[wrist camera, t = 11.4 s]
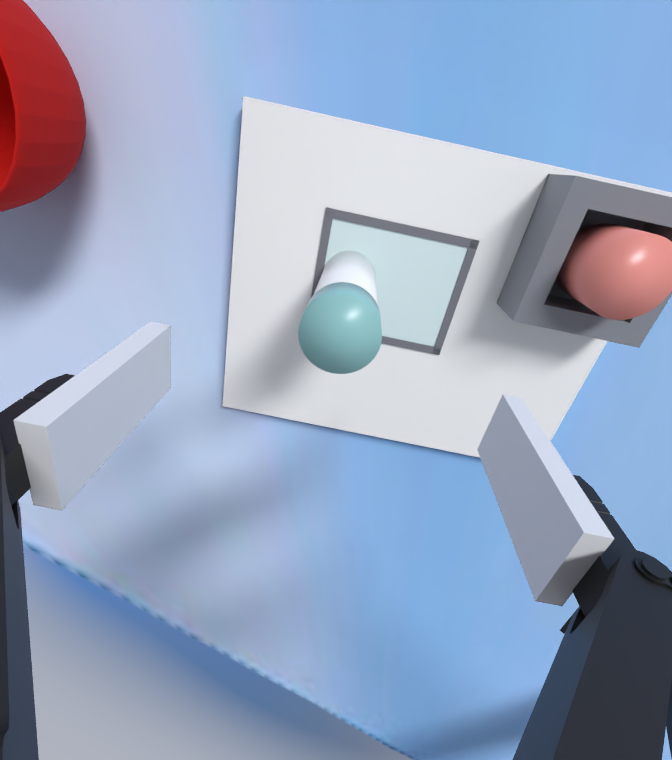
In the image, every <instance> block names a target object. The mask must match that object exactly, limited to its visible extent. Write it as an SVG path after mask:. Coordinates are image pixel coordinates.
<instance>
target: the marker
mask: <svg viewBox="0 0 672 760" xmlns="http://www.w3.org/2000/svg"><path fill="white" fill-rule="evenodd" d="M298 339H299V344H300V347H301V349H302V351H303V353H304V355H305V356H306V358H307V359H308V360H309V361H310V362H311V363H312V364H313V365H315V366H316V367H318V368H320V369H321V370H324V371H326V372H330V373H335V374H348V373H352V372H356V371H358V370H360V369H362V368H364V367H365V366H367V365H368V364H369V363H370V362H371V361H372V360H373V359H374V358H375V356H376V355H377V353H378V351H379V349H380V346H381V341H382V329H381V318H380V311H379V307H378V303H377V290H376V277H375V270H374V267H373V265H372V263H371V261H370V260H369V259H368V258H367V257H366V256H365V255H363V254H362V253H360V252H357V251H352V250H346V251H342V252H339V253H337V254H335V255H334V256H332V257H331V258H330V259H329V261H328V262H327V264H326V265H325V268H324V270H323V273H322V275H321V278H320V280H319V282H318V285H317V287H316V290H315V292H314V295H313V296H312V297H311V299H310V301H309V302H308V305H307V307H306V309H305V312H304V314H303V316H302V319H301V321H300V324H299V330H298Z"/></svg>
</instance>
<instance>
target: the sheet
mask: <svg viewBox="0 0 672 760" xmlns="http://www.w3.org/2000/svg"><path fill="white" fill-rule="evenodd" d="M548 174H557V175H574V176H580V177H584V178H589V179H593V180H598V181H602V182H607V183H611V184H615V185H620V186H624V187H629V188H633V189H638V190H642V191H647V192H651V193H655V194H660V195H664V196H669V197H672V193H671V192H667V191H662V190H658V189H654V188H649V187H645V186H640V185H636V184H631V183H627V182H622V181H618V180H614V179H609V178H605V177H600V176H596V175H591V174H587V173H583V172H578V171H574V170H569V169H565V168H560V167H556V166H551V165H547V164H543V163H538V162H534V161H529V160H525V159H520V158H516V157H512V156H507V155H503V154H498V153H494V152H489V151H485V150H480V149H476V148H472V147H467V146H463V145H458V144H454V143H449V142H445V141H441V140H436V139H432V138H427V137H423V136H418V135H414V134H409V133H405V132H401V131H396V130H392V129H387V128H383V127H378V126H374V125H370V124H365V123H361V122H356V121H352V120H347V119H343V118H338V117H334V116H330V115H325V114H321V113H316V112H312V111H307V110H303V109H299V108H294V107H290V106H285V105H281V104H276V103H272V102H267V101H263V100H259V99H254V98H250V97H245V96H243V108H242V123H241V138H240V153H239V168H238V183H237V198H236V213H235V227H234V242H233V257H232V272H231V287H230V302H229V317H228V332H227V347H226V362H225V377H224V392H223V406H225V407H230V408H235V409H240V410H245V411H250V412H255V413H260V414H265V415H270V416H275V417H280V418H285V419H290V420H295V421H300V422H305V423H310V424H315V425H320V426H325V427H330V428H335V429H340V430H345V431H350V432H355V433H360V434H365V435H370V436H375V437H380V438H385V439H390V440H395V441H400V442H405V443H410V444H415V445H420V446H425V447H430V448H435V449H440V450H445V451H450V452H455V453H460V454H465V455H470V456H475V457H480V456H479V453H478V450H477V449H478V447H479V444H480V442H481V440H482V438H483V436H484V434H485V431H486V429H487V427H488V425H489V423H490V421H491V418H492V416H493V414H494V412H495V410H496V408H497V405H498V403H499V401H500V399H501V397H502V395H503V394H505V395H510V396H514V397H519V398H522V399H523V400H524V402H525V404H526V405H527V407H528V408H529V410H530V411H531V413H532V414H533V416H534V417H535V419H536V420H537V422H538V423H539V425H540V426H541V428H542V429H543V431H544V432H545V434H546V435H547V437H548V438H549V440H550V441H551V439H552V437H553V436H554V434H555V432H556V430H557V429H558V427H559V425H560V423H561V422H562V420H563V418H564V416H565V415H566V413H567V411H568V409H569V408H570V406H571V404H572V402H573V401H574V399H575V397H576V395H577V393H578V392H579V390H580V388H581V386H582V385H583V383H584V381H585V379H586V378H587V376H588V374H589V372H590V371H591V369H592V367H593V365H594V364H595V362H596V360H597V358H598V357H599V355H600V353H601V351H602V349H603V348H604V346H605V344H606V342H607V341H605V340H601V339H596V338H591V337H586V336H582V335H577V334H572V333H568V332H563V331H558V330H553V329H549V328H544V327H539V326H534V325H530V324H525V323H520V322H516V321H513V320H512V319H511V318H510V317H509V316H508V315H507V314H506V313H505V312H504V311H503V310H502V309H501V307H500V306H499V305H498V304H497V300H498V298H499V295H500V293H501V290H502V288H503V285H504V283H505V280H506V278H507V275H508V273H509V270H510V268H511V265H512V263H513V260H514V258H515V255H516V253H517V251H518V248H519V246H520V243H521V241H522V238H523V236H524V233H525V231H526V228H527V226H528V223H529V221H530V218H531V216H532V213H533V211H534V208H535V206H536V203H537V201H538V198H539V196H540V193H541V191H542V188H543V186H544V183H545V181H546V178H547V176H548ZM346 250H352V251H357V252H360V253H362V254H363V255H365V256H366V257H367V258H368V259H369V260H370V261H371V263H372V265H373V267H374V270H375V277H376V290H377V303H378V307H379V311H380V318H381V329H382V341H381V346H380V349H379V351H378V353H377V355H376V356H375V358H374V359H373V360H372V361H371V362H370V363H369V364H368V365H367V366H365V367H364V368H362V369H360V370H358V371H356V372H352V373H348V374H335V373H330V372H326V371H324V370H321V369H320V368H318V367H316V366H315V365H313V364H312V363H311V362H310V361H309V360H308V359H307V358H306V356H305V355H304V353H303V351H302V349H301V347H300V344H299V339H298V330H299V324H300V321H301V319H302V316H303V314H304V312H305V309H306V307H307V305H308V302H309V301H310V299H311V297H312V296H313V295H314V292H315V290H316V287H317V285H318V282H319V280H320V278H321V275H322V273H323V270H324V268H325V265H326V264H327V262H328V261H329V259H330V258H331V257H332V256H334V255H335V254H337V253H339V252H342V251H346Z"/></svg>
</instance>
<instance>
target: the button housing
mask: <svg viewBox="0 0 672 760" xmlns="http://www.w3.org/2000/svg"><path fill="white" fill-rule="evenodd" d="M601 223H611V224H616V225H620V226H624V227H628V228H633V229H637V230H641V231H645V232H649V233H653V234H657V235H660V236H663V237H665V238H667V239H669V240H670V241H671V242H672V197H669V196H664V195H660V194H655V193H651V192H647V191H642V190H638V189H633V188H629V187H624V186H620V185H615V184H611V183H607V182H602V181H598V180H593V179H589V178H584V177H580V176H574V175H557V174H548V176H547V178H546V181H545V183H544V186H543V188H542V191H541V193H540V196H539V198H538V201H537V203H536V206H535V208H534V211H533V213H532V216H531V218H530V221H529V223H528V226H527V228H526V231H525V233H524V236H523V238H522V241H521V243H520V246H519V248H518V251H517V253H516V255H515V258H514V260H513V263H512V265H511V268H510V270H509V273H508V275H507V278H506V280H505V283H504V285H503V288H502V290H501V293H500V295H499V298H498V300H497V304H498V305H499V306H500V307H501V309H502V310H503V311H504V312H505V313H506V314H507V315H508V316H509V317H510V318H511V319H512V320H513V321H516V322H520V323H525V324H530V325H534V326H539V327H544V328H549V329H553V330H558V331H563V332H568V333H572V334H577V335H582V336H586V337H591V338H596V339H601V340H605V341H610V342H615V343H619V344H624V345H629V346H634V347H638V348H639V347H640V345H641V344H642V342H643V341H644V339H645V337H646V336H647V334H648V332H649V331H650V329H651V328H652V326H653V324H654V323H655V321H656V319H657V318H658V316H659V315H660V313H661V311H662V310H663V308H664V306H665V305H666V303H667V302H668V300H669V298H670V297H671V295H672V291H671V292H670V294H669V295H668V296H667V297H666V298H665V299H664V300H663V301H662V302H661V303H660V304H659V305H658V306H656V307H655V308H654V309H652V310H651V311H649V312H647V313H645V314H643V315H641V316H638V317H635V318H632V319H627V320H612V319H608V318H605V317H602V316H600V315H599V314H597V313H596V312H594V311H593V310H591V309H590V308H588V307H587V306H585V305H583V304H582V303H580V302H579V301H577V300H576V299H574V298H573V297H571V296H570V295H568V294H567V293H565V292H564V291H563V290H562V289H561V288H560V286H559V284H558V282H557V280H556V277H557V275H558V273H559V271H560V269H561V266H562V264H563V262H564V260H565V258H566V256H567V253H568V251H569V249H570V247H571V245H572V243H573V240H574V238H575V236H576V234H577V233H578V232H580V231H581V230H583V229H585V228H587V227H589V226H592V225H596V224H601Z"/></svg>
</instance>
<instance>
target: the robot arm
mask: <svg viewBox="0 0 672 760" xmlns="http://www.w3.org/2000/svg"><path fill="white" fill-rule="evenodd" d="M170 388H171V325H166V324H161V323H156V322H152V321H150V322H149V323H147V324H146V325H145V326H143V327H142V328H140V329H139V330H138V331H136V332H135V333H133V334H132V335H131V336H129V337H128V338H127V339H125V340H124V341H122V342H121V343H120V344H118V345H117V346H115V347H114V348H113V349H111V350H110V351H109V352H107V353H106V354H104V355H103V356H102V357H100V358H99V359H97V360H96V361H95V362H93V363H92V364H91V365H89V366H88V367H86V368H85V369H84V370H82V371H81V372H79V373H78V374H77V375H75V376H74V375H69V374H64V375H62V376H59V377H56V378H53V379H50V380H48V381H46V382H45V383H43V384H42V385H40V386H39V387H37V388H36V389H35V391H32V392H30V393H29V394H27V395H26V396H24V398H23V399H20V400H18V401H17V402H15V403H14V404H12V405H11V406H9V407H8V408H6V409H5V410H3V411H2V412H0V760H39V759H38V745H37V731H36V717H35V705H34V691H33V677H32V663H31V649H30V636H29V623H28V610H27V595H26V582H25V569H24V554H23V541H22V527H21V514H20V506H19V503H18V499H20V498H21V497H22V496H23V495H24V494H25V493H26V492H27V491H28V490H29V489H30V493H31V497H32V501H33V505H36V506H41V507H46V508H51V509H57V510H62V511H63V510H64V508H65V507H66V506H67V505H68V504H69V503H70V502H71V500H72V499H73V498H74V497H75V496H76V495H77V494H78V493H79V491H80V490H81V489H82V488H83V487H84V486H85V485H86V483H87V482H88V481H89V480H90V479H91V478H92V477H93V476H94V474H95V473H96V472H97V471H98V470H99V469H100V468H101V466H102V465H103V464H104V463H105V462H106V461H107V460H108V459H109V457H110V456H111V455H112V454H113V453H114V452H115V451H116V449H117V448H118V447H119V446H120V445H121V444H122V443H123V441H124V440H125V439H126V438H127V437H128V436H129V435H130V434H131V432H132V431H133V430H134V429H135V428H136V427H137V426H138V424H139V423H140V422H141V421H142V420H143V419H144V418H145V417H146V415H147V414H148V413H149V412H150V411H151V410H152V409H153V407H154V406H155V405H156V404H157V403H158V402H159V401H160V400H161V398H162V397H163V396H164V395H165V394H166V393H167V392H168V390H169V389H170ZM477 450H478V453H479V456H480V458H481V461H482V463H483V466H484V469H485V471H486V474H487V476H488V479H489V482H490V484H491V487H492V490H493V492H494V495H495V497H496V500H497V503H498V505H499V508H500V510H501V513H502V516H503V518H504V521H505V524H506V526H507V529H508V531H509V534H510V537H511V539H512V542H513V544H514V547H515V550H516V552H517V555H518V558H519V560H520V563H521V565H522V568H523V571H524V573H525V576H526V578H527V581H528V584H529V586H530V589H531V591H532V594H533V597H534V599H535V601H538V602H543V603H548V604H553V605H559V606H563V604H564V603H565V602H566V600H567V599H568V598H569V597H570V595H571V594H572V593H574V595H575V597H576V599H577V602H578V604H579V608H578V609H577V610H576V611H575V612H574V614H573V615H572V616H571V617H570V619H569V620H568V621H567V622H566V623H565V625H564V626H563V627H562V628H561V630H560V631H561V632H563V633H565V635H564V637H563V640H562V642H561V644H560V647H559V649H558V652H557V654H556V657H555V659H554V661H553V664H552V666H551V669H550V671H549V673H548V676H547V678H546V681H545V683H544V685H543V688H542V690H541V693H540V695H539V697H538V700H537V702H536V705H535V707H534V710H533V712H532V714H531V717H530V719H529V722H528V724H527V726H526V729H525V731H524V734H523V736H522V738H521V741H520V743H519V746H518V748H517V750H516V753H515V755H514V758H513V760H662V752H663V744H664V737H665V729H666V727H667V733H668V739H669V745H670V751H671V757H672V572H671V571H670V570H669V569H668V568H667V567H666V566H665V565H664V564H662V563H661V562H660V561H658V560H657V559H655V558H654V557H652V556H650V555H648V554H646V553H644V552H640V551H637V550H636V549H635V548H634V546H633V545H632V544H631V542H630V541H629V539H628V538H627V536H626V535H625V533H624V532H623V531H622V529H621V528H620V526H619V525H618V523H617V522H616V520H615V519H614V518H613V516H612V515H610V512H609V510H608V509H607V508H606V506H605V505H604V504H602V500H601V499H600V497H599V496H598V495H597V493H596V492H595V490H594V489H593V488H592V487H591V486H590V485H589V484H588V483H586V482H585V481H584V480H583V479H582V478H581V477H580V476H576V475H572V473H571V472H570V470H569V469H568V467H567V466H566V464H565V463H564V461H563V460H562V458H561V457H560V455H559V454H558V452H557V451H556V449H555V448H554V446H553V445H552V443H551V442H550V440H549V438H548V437H547V435H546V434H545V432H544V431H543V429H542V428H541V426H540V425H539V423H538V422H537V420H536V419H535V417H534V416H533V414H532V413H531V411H530V410H529V408H528V407H527V405H526V404H525V402H524V400H523V399H522V398H519V397H514V396H510V395H505V394H503V395H502V397H501V399H500V401H499V403H498V405H497V408H496V410H495V412H494V414H493V416H492V418H491V421H490V423H489V425H488V427H487V429H486V431H485V434H484V436H483V438H482V440H481V442H480V444H479V447H478V449H477Z"/></svg>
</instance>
